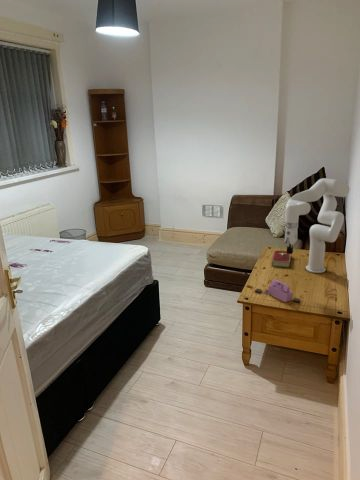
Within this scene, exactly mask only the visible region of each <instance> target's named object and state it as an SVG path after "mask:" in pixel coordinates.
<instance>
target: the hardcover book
mask: <svg viewBox="0 0 360 480" xmlns="http://www.w3.org/2000/svg"><path fill="white" fill-rule="evenodd" d="M291 255H292V254H288V253H287V250H277V249H274V252H273V257H272V261H271V266H272V267H276V268H286V269H287V268H289V269H290V268H291V257H292V256H291Z"/></svg>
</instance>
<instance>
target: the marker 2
mask: <svg viewBox="0 0 360 480" xmlns="http://www.w3.org/2000/svg"><path fill="white" fill-rule="evenodd" d="M300 301H301V299H300V298H298V297H294V298H292V302H293V303H297V304H298V303H300Z"/></svg>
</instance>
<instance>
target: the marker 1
mask: <svg viewBox="0 0 360 480" xmlns="http://www.w3.org/2000/svg"><path fill="white" fill-rule="evenodd" d="M262 292H263V289H261V288H256V289H255V290H254V293H256V294H261V293H262Z"/></svg>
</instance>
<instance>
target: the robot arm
mask: <svg viewBox="0 0 360 480" xmlns="http://www.w3.org/2000/svg"><path fill="white" fill-rule="evenodd" d="M350 190H351V189H350V186H349V184H348V183H347V182H344V181H341V180H339V179H335V178H325V177H323V178H319V179H318V180H317V181H316V182H315V183H314V184H313V185H311V186H310V188H309V189H306V190H303V191H300V192H297V193H295V194H294V195H292V196H291V197H290V198H289V199H288V200H287V202H286V204H285V215H284V228H285V232H284V244H285V245H286V251H287V253H288V254H291V255H292V254H293V253H294V244H295V243H296V242H297V241H298V228H299V218H300V217H299V216H305V215H308V214H309V213H310V211H311V208H312V207H311V204H310V203H313V202H316V201H319V200H320V199H321V198H322V197H323V203H322V204H321V206H320V207H321V208H320V211H319V213H318V216H317V222H318V223H320V224H316V223H315V224H313V225H311V226H310V228H309V251H308V252H309V253H308V264H307V265H306V266H305V270H306V271H307V272H309V273H313V274H323V273H325V272H326V271H327V270H326V267H325V266H324V263H325V256H326V242H327V243H335V242H336V241H337V239H338V237H339V234H340V232H341V230H342V227H343V225H344V222H345V216H344V215H345V214H344V213H342V212H341V211H336V209H337V206H338V201H337V198H336V197H339V198H345V197H347V196H348V195H349V194H350Z"/></svg>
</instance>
